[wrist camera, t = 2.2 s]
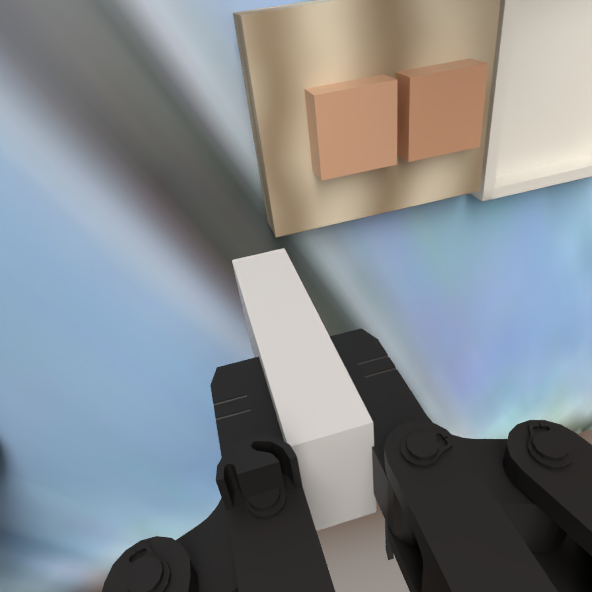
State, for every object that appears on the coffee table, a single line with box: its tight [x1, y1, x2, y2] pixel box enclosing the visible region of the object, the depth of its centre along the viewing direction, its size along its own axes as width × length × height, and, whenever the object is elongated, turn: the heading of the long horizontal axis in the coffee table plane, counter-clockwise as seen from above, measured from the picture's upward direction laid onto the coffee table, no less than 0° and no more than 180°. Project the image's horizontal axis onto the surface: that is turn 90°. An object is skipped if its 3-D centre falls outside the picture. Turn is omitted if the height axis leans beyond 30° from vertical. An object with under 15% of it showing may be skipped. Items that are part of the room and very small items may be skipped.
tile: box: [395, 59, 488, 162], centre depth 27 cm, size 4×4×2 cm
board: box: [233, 0, 501, 237], centre depth 28 cm, size 14×12×2 cm
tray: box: [470, 0, 592, 202], centre depth 30 cm, size 10×14×2 cm
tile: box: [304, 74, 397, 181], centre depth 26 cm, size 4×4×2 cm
